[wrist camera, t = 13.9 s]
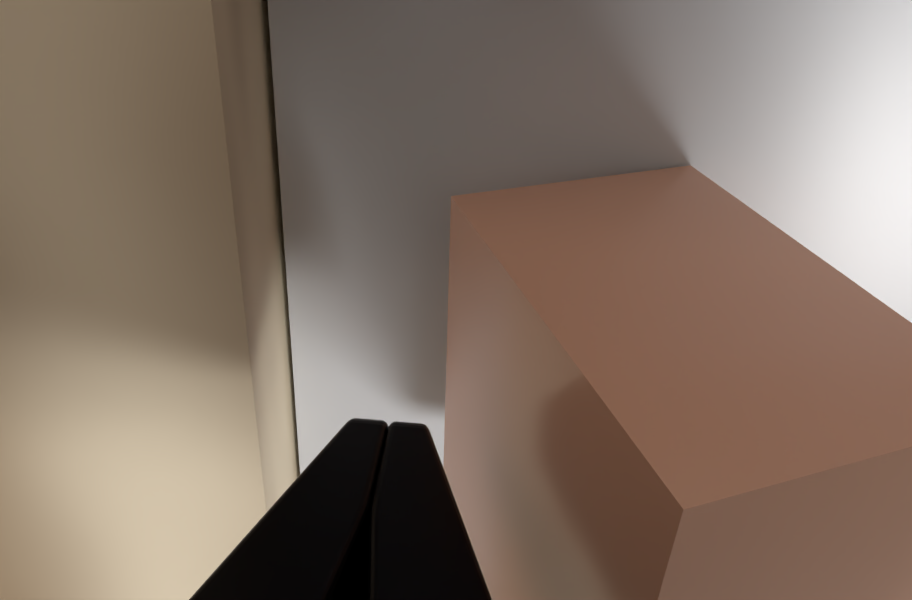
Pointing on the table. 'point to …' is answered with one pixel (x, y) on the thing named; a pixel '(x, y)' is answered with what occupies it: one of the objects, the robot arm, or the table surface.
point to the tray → (559, 152)
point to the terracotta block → (670, 400)
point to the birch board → (138, 295)
